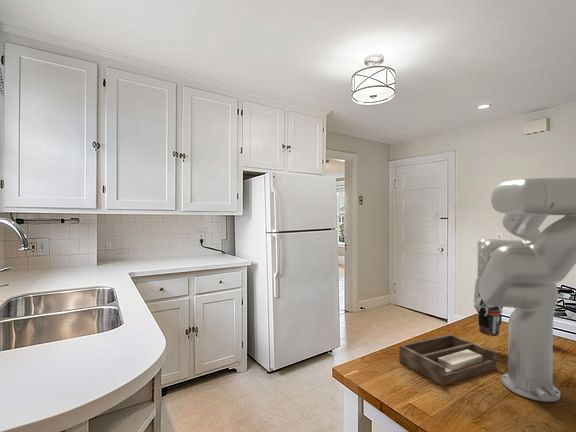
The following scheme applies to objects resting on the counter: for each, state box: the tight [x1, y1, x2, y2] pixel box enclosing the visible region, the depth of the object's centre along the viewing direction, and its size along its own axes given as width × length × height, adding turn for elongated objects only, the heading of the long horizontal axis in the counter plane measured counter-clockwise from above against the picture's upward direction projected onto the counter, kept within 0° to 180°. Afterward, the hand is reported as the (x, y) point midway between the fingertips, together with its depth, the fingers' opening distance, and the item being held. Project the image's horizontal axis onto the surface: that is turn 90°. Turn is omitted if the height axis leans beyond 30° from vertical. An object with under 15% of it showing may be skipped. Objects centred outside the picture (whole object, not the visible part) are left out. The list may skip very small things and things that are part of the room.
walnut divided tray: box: [398, 333, 498, 386], centre depth 96 cm, size 16×24×5 cm, turn 114°
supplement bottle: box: [478, 305, 500, 337], centre depth 106 cm, size 6×6×11 cm
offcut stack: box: [438, 349, 482, 373], centre depth 92 cm, size 5×18×4 cm, turn 116°
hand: (489, 324), depth 106 cm, fingers closed on supplement bottle, 6 cm apart
